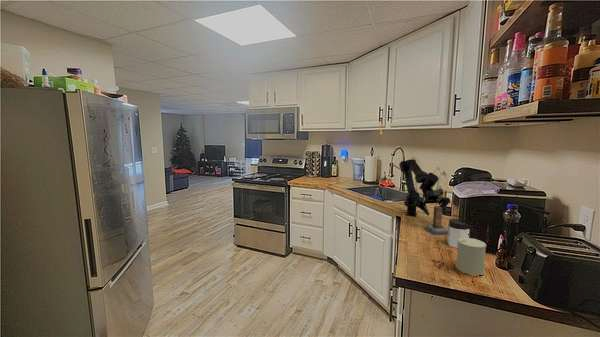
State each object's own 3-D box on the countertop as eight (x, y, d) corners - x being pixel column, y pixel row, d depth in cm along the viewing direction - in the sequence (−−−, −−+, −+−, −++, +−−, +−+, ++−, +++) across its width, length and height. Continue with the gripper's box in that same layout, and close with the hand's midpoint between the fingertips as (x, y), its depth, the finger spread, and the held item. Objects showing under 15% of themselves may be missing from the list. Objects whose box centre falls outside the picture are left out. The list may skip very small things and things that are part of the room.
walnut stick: (432, 228, 139) (433, 206, 138) (438, 228, 139) (439, 206, 138) (435, 230, 136) (436, 207, 135) (441, 230, 136) (442, 207, 135)
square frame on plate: (423, 228, 143) (423, 223, 142) (440, 228, 143) (441, 223, 142) (432, 234, 133) (432, 229, 132) (451, 234, 133) (451, 229, 132)
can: (452, 263, 102) (454, 235, 101) (478, 266, 100) (481, 237, 98) (459, 274, 94) (461, 244, 92) (488, 278, 91) (490, 247, 89)
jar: (471, 246, 118) (472, 221, 117) (465, 251, 113) (466, 225, 112) (450, 240, 125) (451, 217, 124) (444, 244, 120) (445, 221, 119)
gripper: (417, 184, 141) (425, 208, 131) (449, 183, 141) (461, 207, 131) (410, 194, 149) (418, 217, 140) (441, 194, 149) (451, 217, 140)
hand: (436, 215), depth 137 cm, fingers open, 9 cm apart
